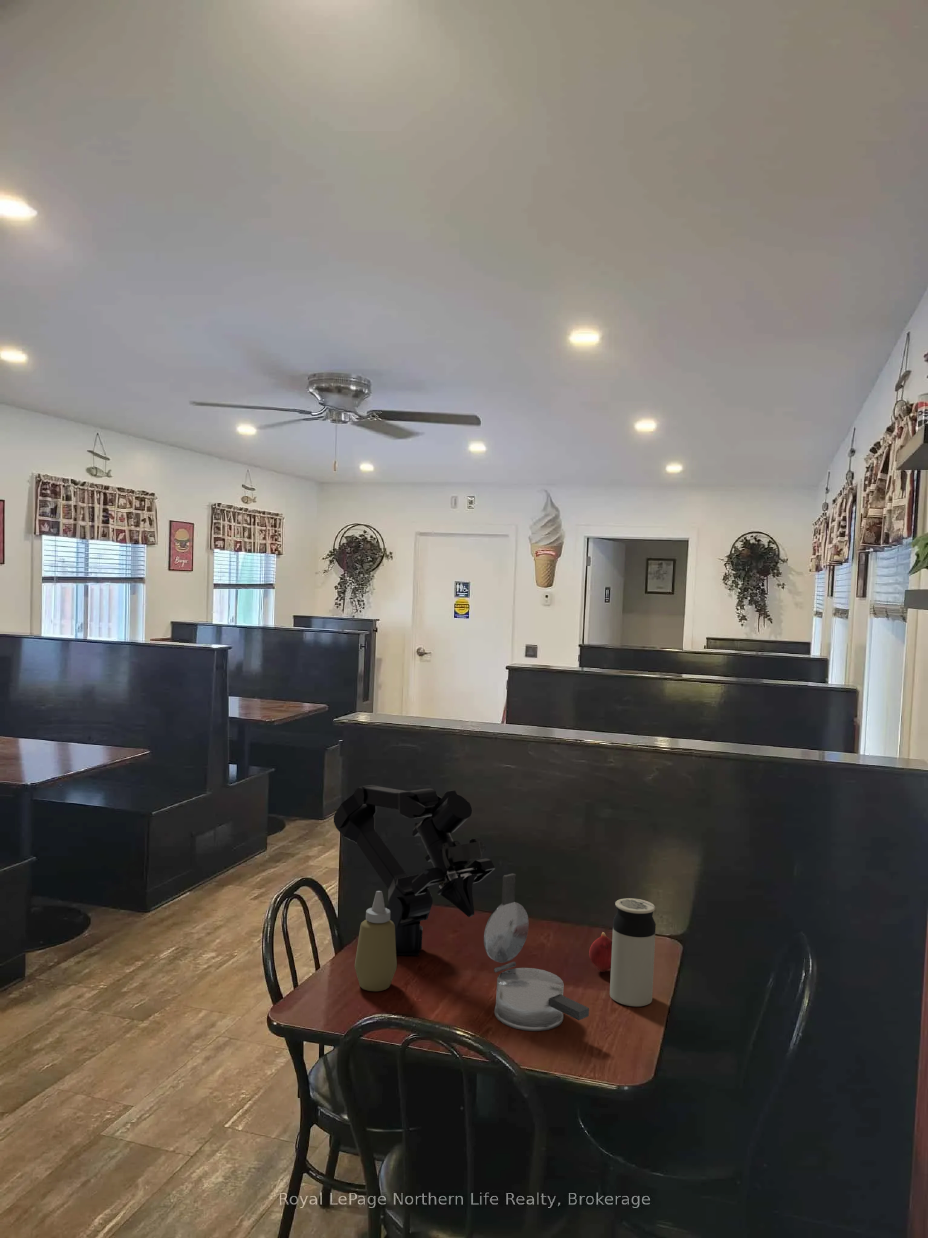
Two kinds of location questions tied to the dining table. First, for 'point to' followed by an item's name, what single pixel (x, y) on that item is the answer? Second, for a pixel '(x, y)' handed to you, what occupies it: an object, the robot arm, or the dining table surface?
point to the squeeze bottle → (376, 948)
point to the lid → (506, 927)
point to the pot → (533, 1000)
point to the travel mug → (633, 952)
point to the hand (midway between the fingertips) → (471, 916)
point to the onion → (601, 953)
